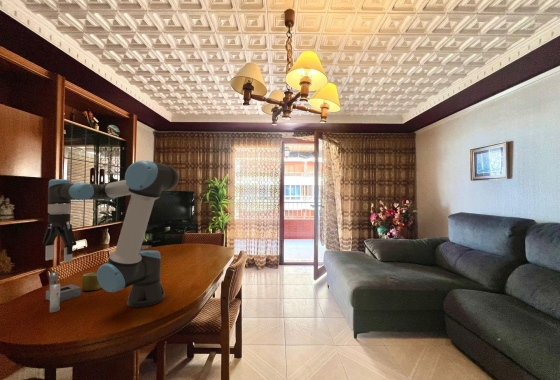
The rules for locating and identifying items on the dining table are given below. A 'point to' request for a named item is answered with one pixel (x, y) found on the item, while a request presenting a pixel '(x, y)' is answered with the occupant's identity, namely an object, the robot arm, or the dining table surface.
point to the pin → (54, 298)
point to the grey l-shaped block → (63, 289)
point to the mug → (90, 282)
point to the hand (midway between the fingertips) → (58, 260)
